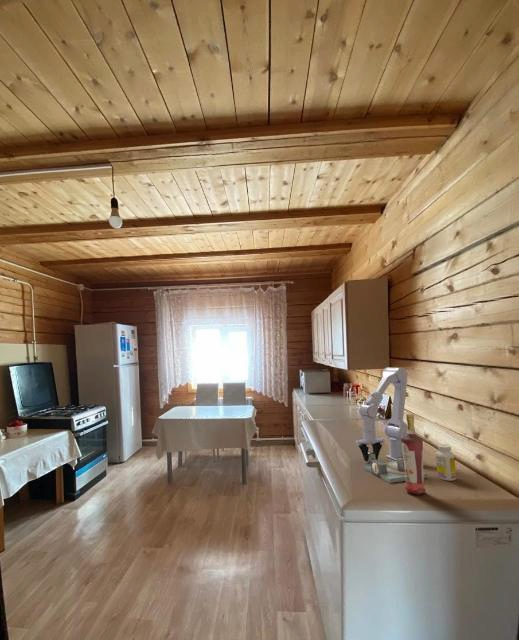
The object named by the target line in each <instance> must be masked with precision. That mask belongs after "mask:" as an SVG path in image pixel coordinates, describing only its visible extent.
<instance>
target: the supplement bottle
mask: <svg viewBox="0 0 519 640" xmlns="http://www.w3.org/2000/svg"><path fill="white" fill-rule="evenodd" d="M451 447H452V446H450V445H449V444H445V443H444V444H441V443H440V444H438V445H437V449H438V450H437V451H436V452H435V459H436V471H437V477H438V478H439V479H440V480H443V481H448V482H450V481H456V480H457V472H456V471H457V470H456V461H455V455H454V453H453V452H452V451H451V450H452V448H451Z"/></svg>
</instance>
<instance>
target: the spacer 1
mask: <svg viewBox="0 0 519 640" xmlns="http://www.w3.org/2000/svg"><path fill="white" fill-rule="evenodd" d="M370 460H376V453H375V452H373V451H369V450H368V461H365V463H366V464H365V465H368V464H371V461H370Z"/></svg>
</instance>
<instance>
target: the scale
mask: <svg viewBox="0 0 519 640" xmlns="http://www.w3.org/2000/svg"><path fill="white" fill-rule="evenodd" d="M370 461H371V464H363V469H364V470H366V471H367V472H368V473H371V474H372V473H373V475H374V474H375V475H374V476H376V477H378V478H380V479H381V480H383V481H385V482H387V483H389V484H393V483H400V482H406V477H405V472H400V471H398V470H397V461H395V460H393V461H387V462H386V461H385V462H384V461H381V460H379V459H378V460H370ZM423 478H424V479H427V478H428V473H426V472H424V471H423Z"/></svg>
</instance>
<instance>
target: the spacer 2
mask: <svg viewBox="0 0 519 640" xmlns="http://www.w3.org/2000/svg"><path fill="white" fill-rule="evenodd" d="M397 470H398V471H400V472H405V467H404V459H403V457H402V456H399V457H397Z"/></svg>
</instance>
